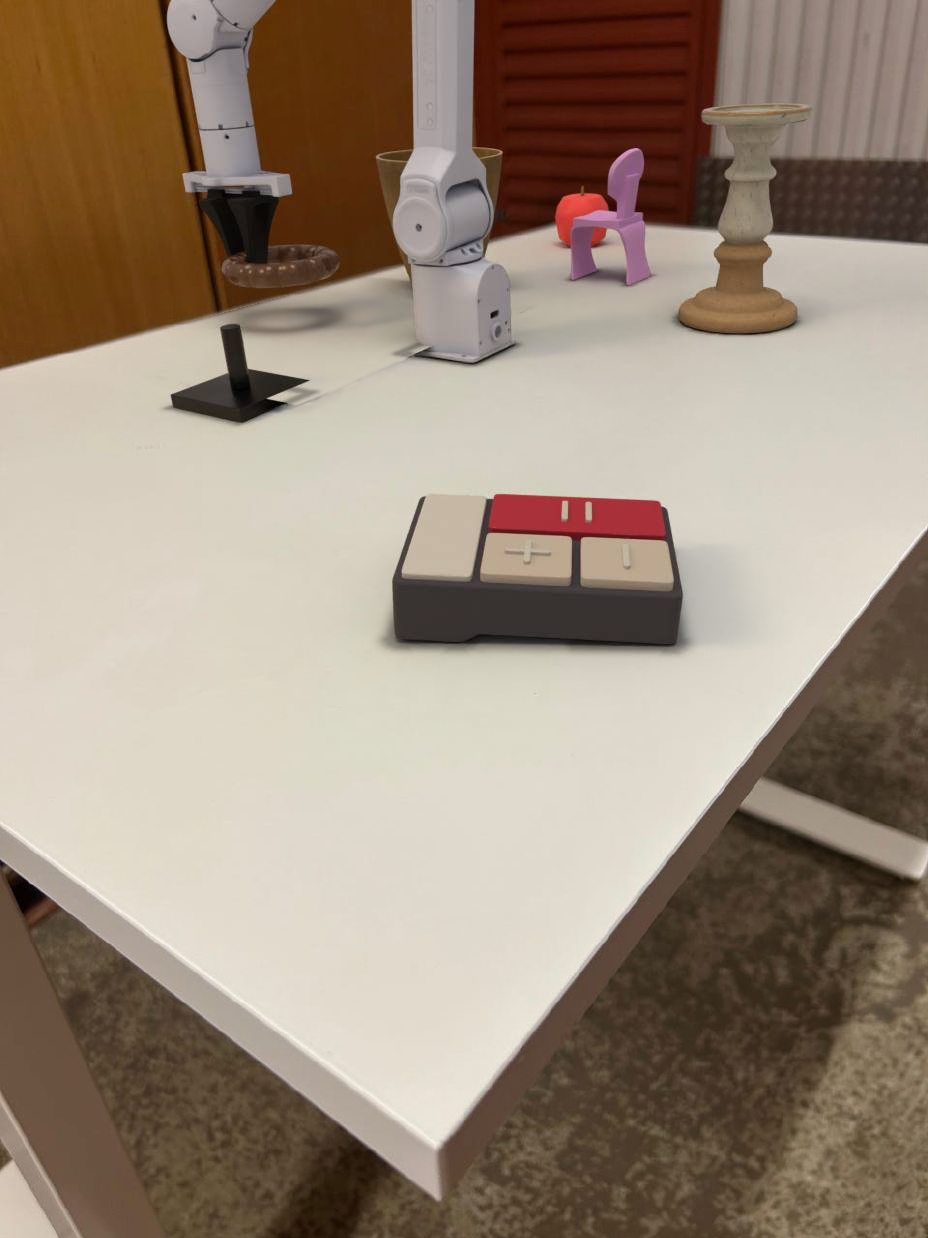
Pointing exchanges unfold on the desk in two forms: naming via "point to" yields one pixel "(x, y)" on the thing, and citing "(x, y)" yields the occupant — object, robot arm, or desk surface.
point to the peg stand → (235, 385)
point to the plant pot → (393, 168)
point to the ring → (282, 267)
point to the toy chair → (615, 221)
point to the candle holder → (745, 226)
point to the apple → (579, 214)
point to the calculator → (538, 570)
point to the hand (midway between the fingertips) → (249, 263)
